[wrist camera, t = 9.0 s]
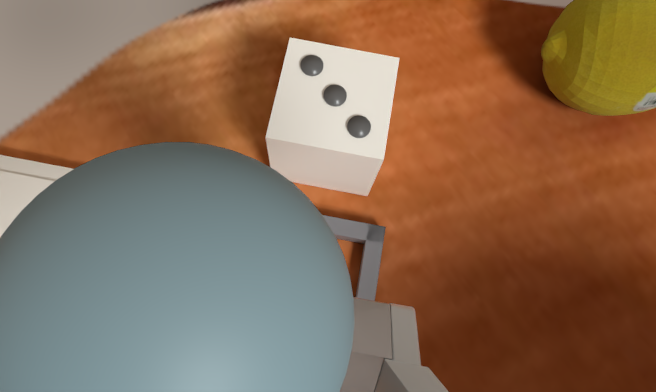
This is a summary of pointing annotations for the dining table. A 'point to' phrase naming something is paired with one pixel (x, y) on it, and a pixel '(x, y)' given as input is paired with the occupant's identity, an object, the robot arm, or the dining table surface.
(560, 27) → the lemon
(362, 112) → the die
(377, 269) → the game board
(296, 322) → the pawn
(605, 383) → the dining table surface
